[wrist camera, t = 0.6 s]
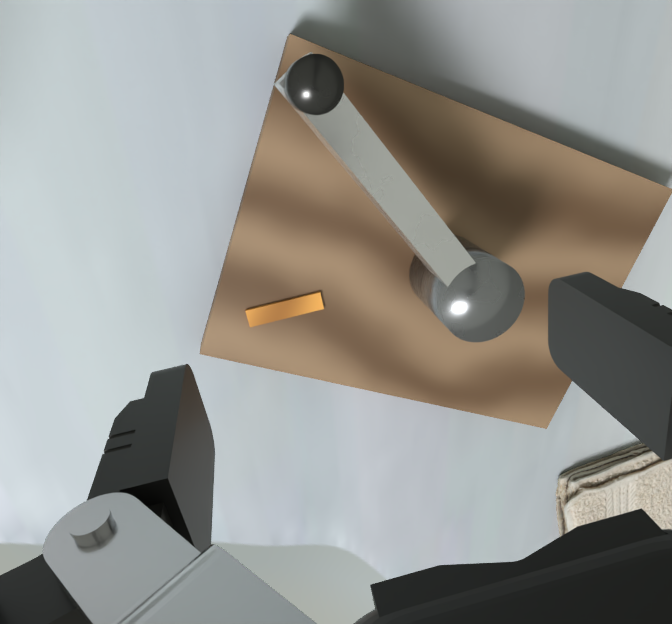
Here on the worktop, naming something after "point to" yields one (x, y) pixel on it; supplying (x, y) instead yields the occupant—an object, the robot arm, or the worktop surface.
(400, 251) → the dial plate
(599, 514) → the washcloth
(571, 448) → the worktop surface
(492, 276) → the lever
